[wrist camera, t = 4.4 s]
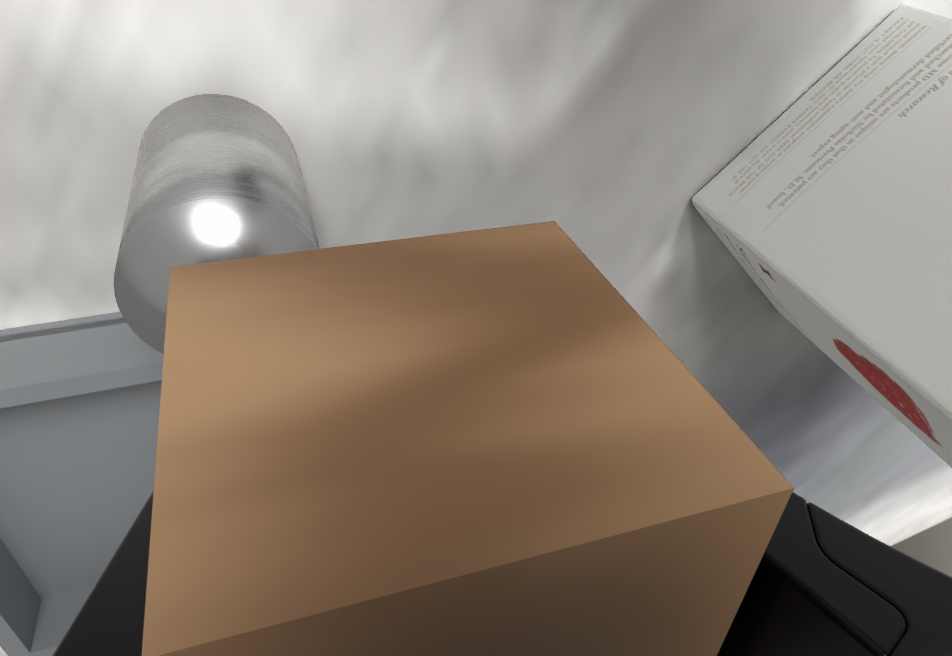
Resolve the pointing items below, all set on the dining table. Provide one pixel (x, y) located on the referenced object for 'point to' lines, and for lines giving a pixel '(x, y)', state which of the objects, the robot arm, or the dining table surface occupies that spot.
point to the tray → (69, 466)
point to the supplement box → (860, 218)
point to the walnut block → (440, 461)
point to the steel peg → (206, 201)
